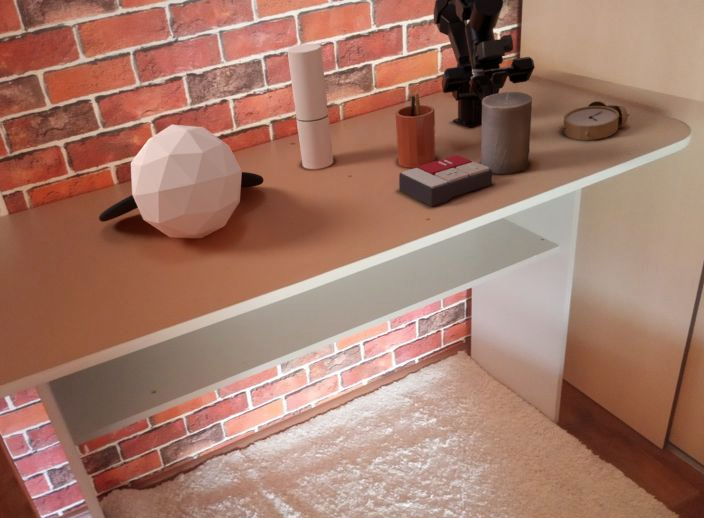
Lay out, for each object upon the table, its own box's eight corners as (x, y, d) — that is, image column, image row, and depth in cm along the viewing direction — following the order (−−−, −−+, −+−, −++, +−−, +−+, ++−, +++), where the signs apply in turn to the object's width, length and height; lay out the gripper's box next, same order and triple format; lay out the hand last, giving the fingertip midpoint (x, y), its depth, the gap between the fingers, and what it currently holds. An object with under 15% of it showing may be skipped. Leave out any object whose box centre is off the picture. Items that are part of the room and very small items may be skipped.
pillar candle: (534, 159, 148) (539, 86, 139) (519, 177, 142) (523, 101, 133) (489, 154, 153) (491, 84, 144) (473, 172, 146) (474, 99, 138)
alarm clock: (551, 120, 157) (599, 90, 161) (552, 140, 160) (599, 111, 164) (593, 131, 149) (641, 99, 152) (593, 152, 152) (641, 121, 155)
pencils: (406, 156, 155) (403, 91, 147) (418, 152, 157) (416, 88, 148) (414, 159, 153) (412, 94, 145) (426, 155, 154) (424, 90, 146)
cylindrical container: (334, 155, 164) (322, 42, 150) (332, 167, 158) (319, 50, 144) (304, 158, 165) (289, 45, 151) (300, 170, 159) (285, 54, 145)
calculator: (493, 166, 138) (432, 185, 133) (492, 187, 141) (431, 206, 135) (457, 152, 146) (398, 169, 141) (457, 172, 149) (398, 190, 144)
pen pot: (391, 161, 157) (388, 111, 151) (420, 151, 160) (418, 102, 153) (413, 171, 151) (410, 119, 145) (442, 160, 154) (441, 109, 147)
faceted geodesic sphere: (112, 267, 123) (75, 142, 117) (108, 250, 151) (78, 147, 144) (300, 221, 131) (275, 100, 124) (263, 212, 158) (241, 113, 152)
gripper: (443, 28, 145) (455, 98, 142) (534, 15, 144) (548, 85, 142) (436, 59, 156) (447, 124, 153) (521, 47, 155) (533, 112, 153)
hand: (493, 111), depth 150 cm, fingers closed
